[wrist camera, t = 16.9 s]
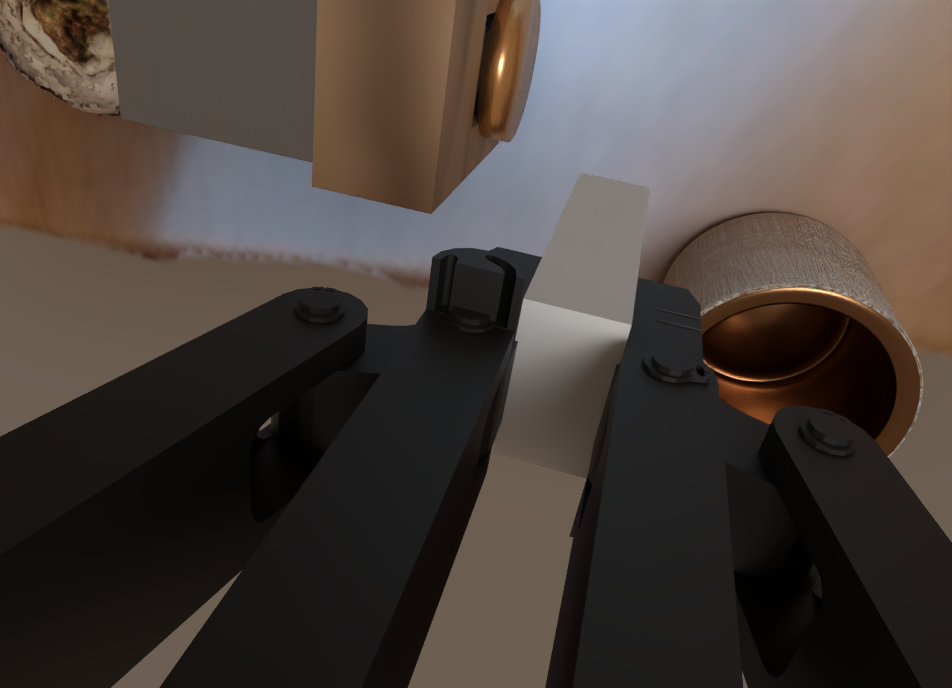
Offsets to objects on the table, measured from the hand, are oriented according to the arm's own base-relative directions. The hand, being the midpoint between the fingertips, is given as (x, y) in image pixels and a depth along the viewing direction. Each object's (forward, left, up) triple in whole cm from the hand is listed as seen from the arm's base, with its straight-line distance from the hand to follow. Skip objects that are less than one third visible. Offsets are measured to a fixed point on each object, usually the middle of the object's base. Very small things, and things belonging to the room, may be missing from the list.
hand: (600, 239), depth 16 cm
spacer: (0, -9, -22) cm, 24 cm away
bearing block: (0, -18, -22) cm, 28 cm away
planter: (+10, +9, -23) cm, 26 cm away
